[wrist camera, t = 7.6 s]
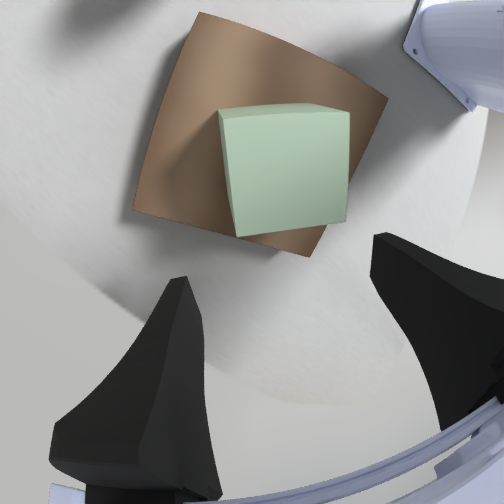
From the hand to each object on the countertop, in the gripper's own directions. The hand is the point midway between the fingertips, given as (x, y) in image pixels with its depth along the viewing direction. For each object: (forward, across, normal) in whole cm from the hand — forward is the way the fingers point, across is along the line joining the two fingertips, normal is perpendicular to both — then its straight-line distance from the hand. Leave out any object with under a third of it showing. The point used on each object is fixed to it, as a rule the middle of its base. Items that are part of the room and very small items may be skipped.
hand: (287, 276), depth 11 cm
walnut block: (+11, -1, -3) cm, 12 cm away
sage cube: (+8, -1, -3) cm, 8 cm away
